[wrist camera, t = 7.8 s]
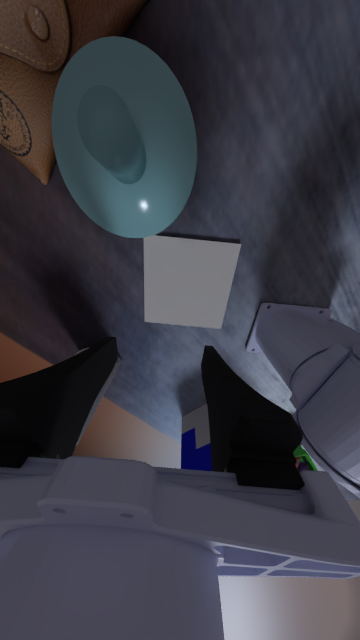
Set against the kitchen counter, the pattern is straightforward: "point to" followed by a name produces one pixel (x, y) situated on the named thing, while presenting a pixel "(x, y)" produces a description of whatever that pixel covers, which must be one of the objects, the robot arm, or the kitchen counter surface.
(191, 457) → the puzzle toy
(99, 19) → the sunglasses case
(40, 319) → the kitchen counter surface
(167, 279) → the plate
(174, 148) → the lid
